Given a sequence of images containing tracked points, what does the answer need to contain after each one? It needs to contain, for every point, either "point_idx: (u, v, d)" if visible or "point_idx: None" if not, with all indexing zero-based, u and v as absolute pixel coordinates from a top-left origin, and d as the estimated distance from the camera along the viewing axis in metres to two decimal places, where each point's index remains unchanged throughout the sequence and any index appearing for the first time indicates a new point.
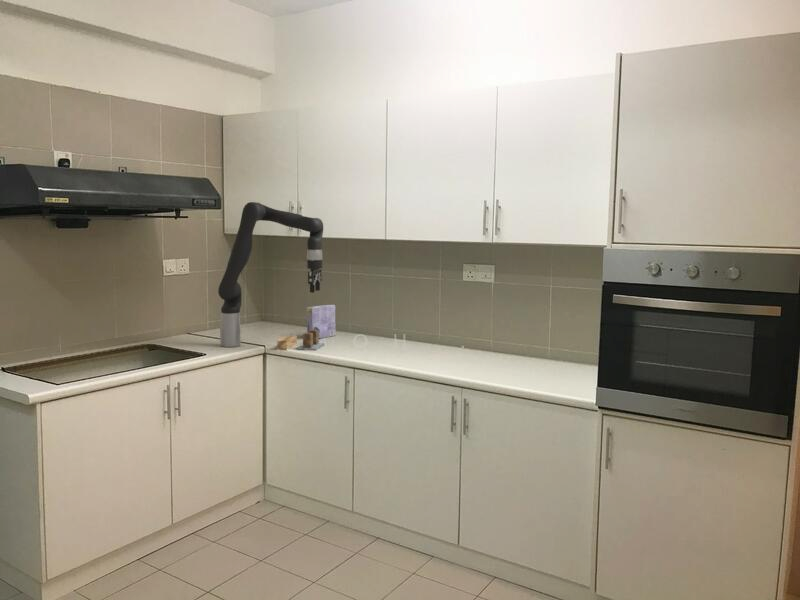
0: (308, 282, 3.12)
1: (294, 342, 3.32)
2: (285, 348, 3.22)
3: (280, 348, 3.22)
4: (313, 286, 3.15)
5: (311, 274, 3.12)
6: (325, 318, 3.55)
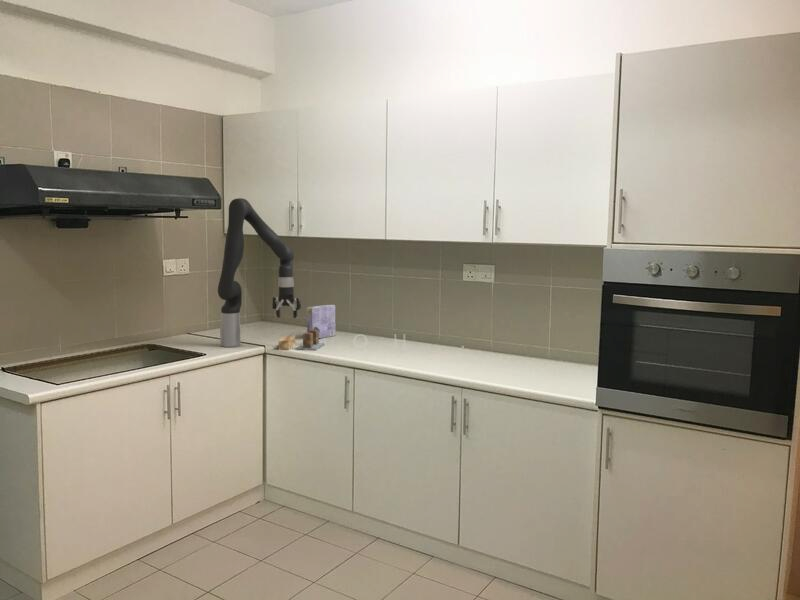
0: (299, 308, 3.24)
1: (293, 342, 3.33)
2: (287, 348, 3.22)
3: (282, 348, 3.22)
4: None
5: (299, 300, 3.25)
6: (325, 318, 3.55)
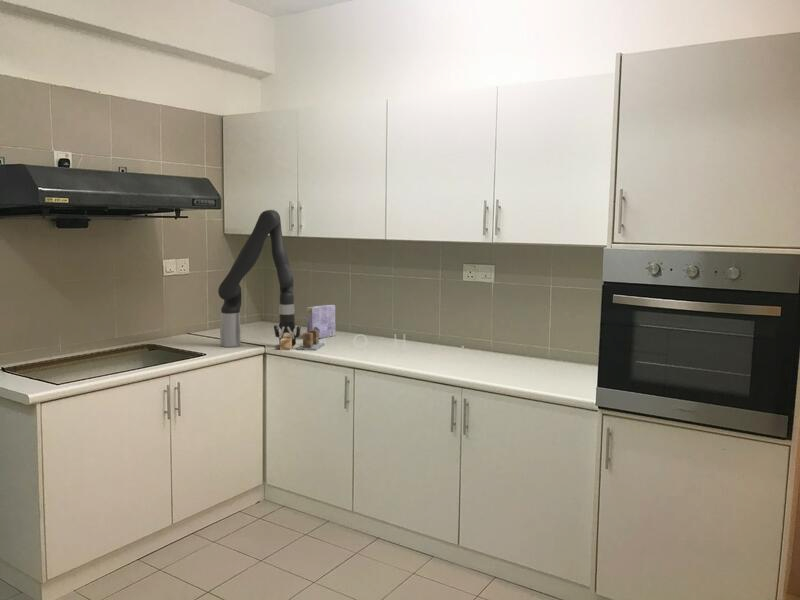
0: (297, 336, 3.27)
1: None
2: (288, 347, 3.22)
3: (283, 348, 3.22)
4: None
5: (300, 328, 3.27)
6: (325, 318, 3.55)
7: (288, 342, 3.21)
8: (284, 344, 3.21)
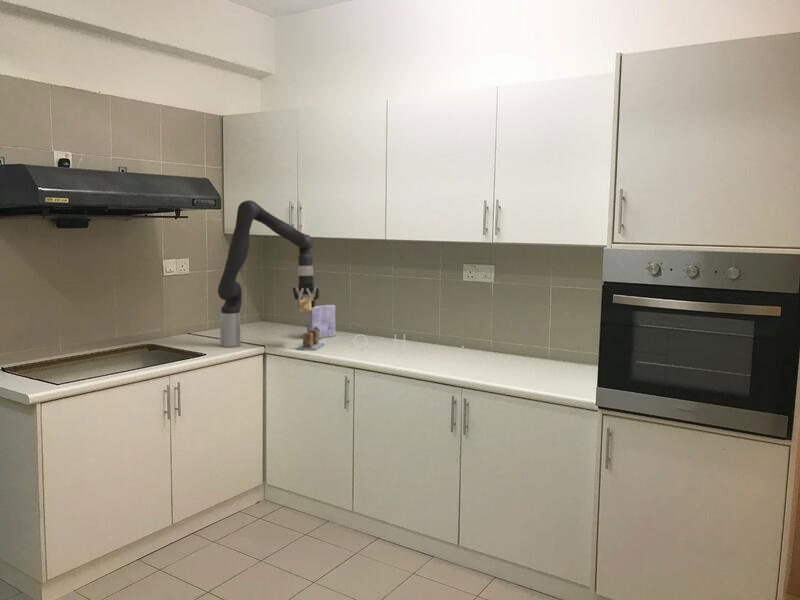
0: (317, 298, 3.24)
1: None
2: (308, 309, 3.19)
3: (303, 309, 3.19)
4: None
5: (319, 290, 3.24)
6: (325, 318, 3.55)
7: (307, 303, 3.18)
8: (303, 305, 3.18)
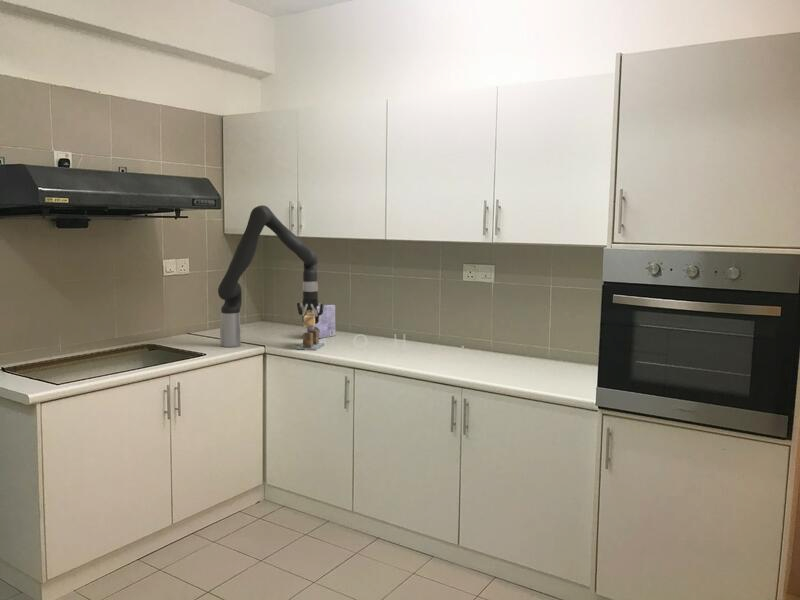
0: (321, 314, 3.25)
1: None
2: (312, 324, 3.20)
3: (307, 325, 3.20)
4: None
5: (323, 306, 3.26)
6: (325, 318, 3.55)
7: (311, 319, 3.19)
8: (307, 321, 3.20)
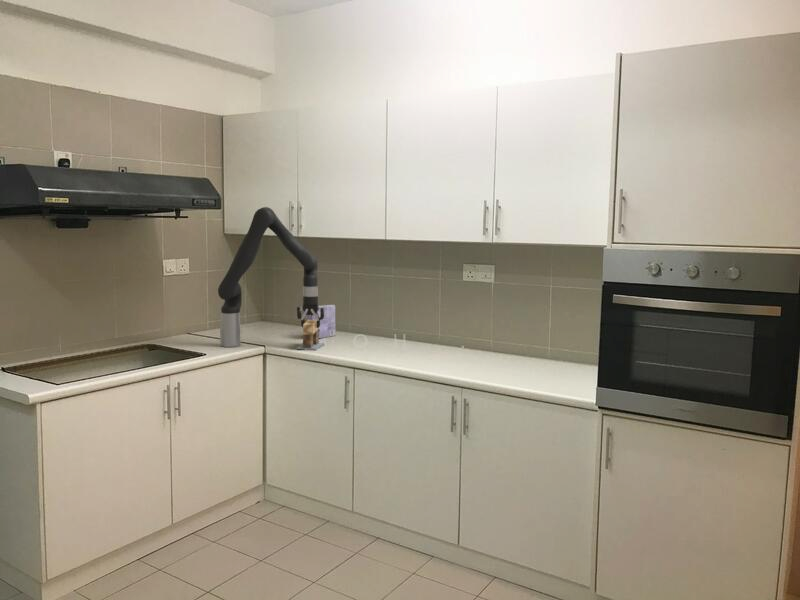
0: (322, 318, 3.25)
1: (316, 326, 3.31)
2: (311, 332, 3.20)
3: (306, 332, 3.20)
4: None
5: (323, 310, 3.26)
6: (325, 318, 3.55)
7: (311, 326, 3.20)
8: (307, 328, 3.20)
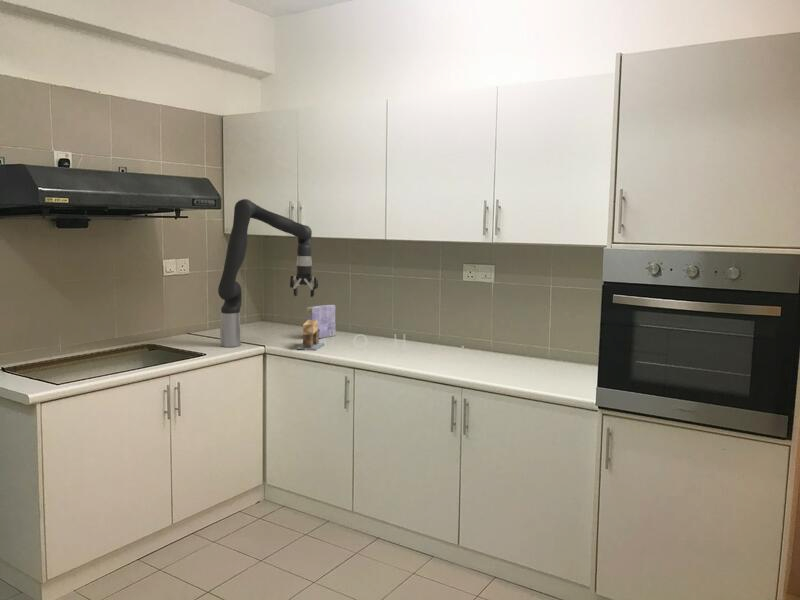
0: (316, 287, 3.27)
1: (316, 326, 3.31)
2: (311, 332, 3.20)
3: (306, 332, 3.20)
4: None
5: (317, 279, 3.28)
6: (325, 318, 3.55)
7: (311, 326, 3.20)
8: (307, 328, 3.20)
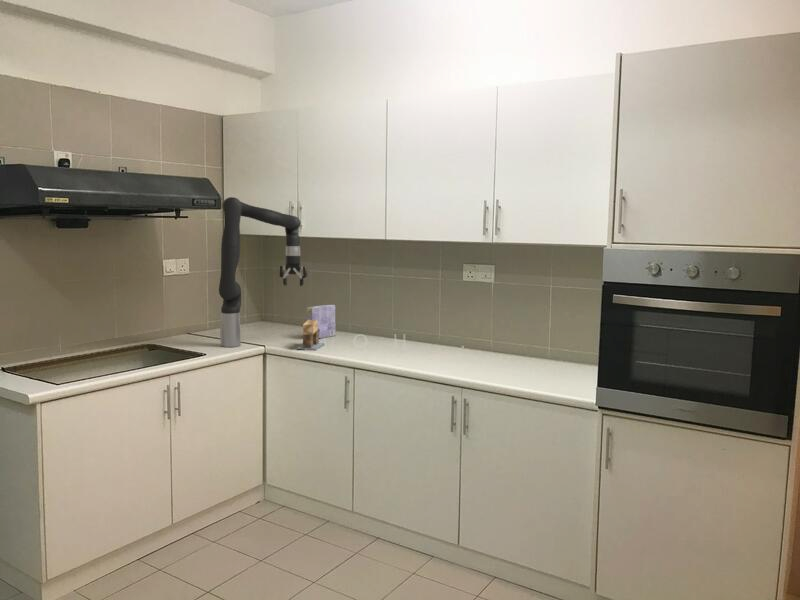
0: (305, 276, 3.36)
1: (316, 326, 3.31)
2: (311, 332, 3.20)
3: (306, 332, 3.20)
4: None
5: (306, 268, 3.37)
6: (325, 318, 3.55)
7: (311, 326, 3.20)
8: (307, 328, 3.20)
